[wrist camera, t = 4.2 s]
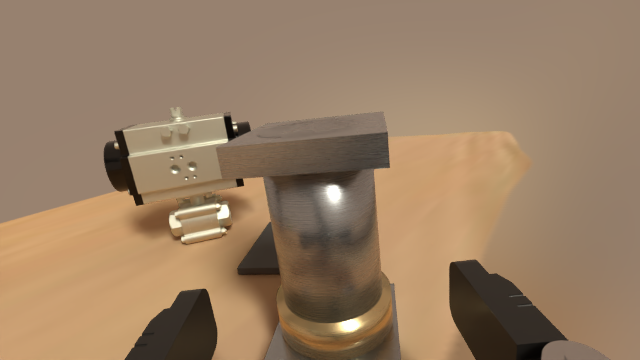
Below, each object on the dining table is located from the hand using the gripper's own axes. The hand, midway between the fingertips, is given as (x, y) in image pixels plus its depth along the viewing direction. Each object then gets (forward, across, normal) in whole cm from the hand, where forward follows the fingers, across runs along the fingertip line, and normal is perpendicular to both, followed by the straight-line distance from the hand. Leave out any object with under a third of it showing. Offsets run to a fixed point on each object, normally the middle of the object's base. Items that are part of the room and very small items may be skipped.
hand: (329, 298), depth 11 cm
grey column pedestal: (+5, 0, +6) cm, 8 cm away
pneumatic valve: (+20, +12, +6) cm, 24 cm away
